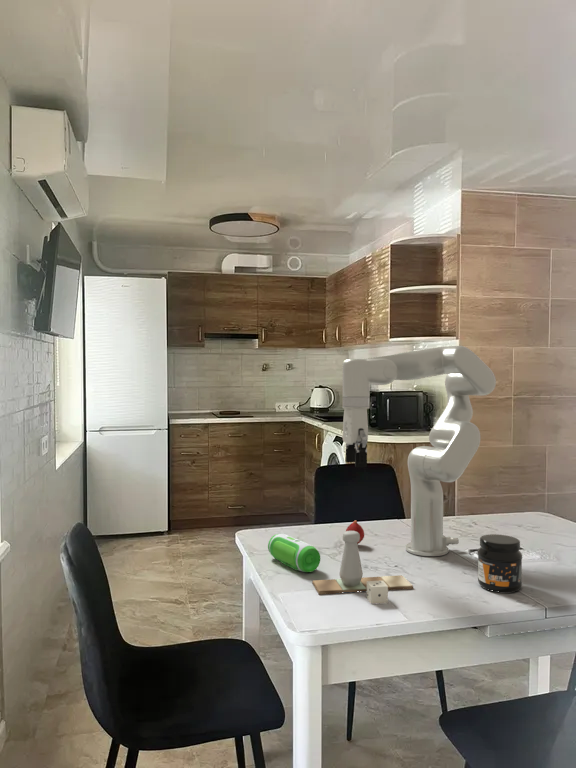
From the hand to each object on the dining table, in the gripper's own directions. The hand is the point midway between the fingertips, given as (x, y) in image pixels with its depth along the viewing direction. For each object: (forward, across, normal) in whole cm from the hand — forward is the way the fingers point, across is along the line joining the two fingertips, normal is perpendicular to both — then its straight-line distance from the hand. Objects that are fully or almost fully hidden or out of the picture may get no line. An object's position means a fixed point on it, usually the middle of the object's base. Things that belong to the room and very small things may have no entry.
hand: (356, 464), depth 165 cm
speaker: (+29, -4, -17) cm, 34 cm away
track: (+28, +16, -3) cm, 33 cm away
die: (+28, +26, -2) cm, 38 cm away
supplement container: (+29, +22, +31) cm, 48 cm away
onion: (+28, -19, +5) cm, 35 cm away
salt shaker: (+28, +16, -6) cm, 32 cm away
